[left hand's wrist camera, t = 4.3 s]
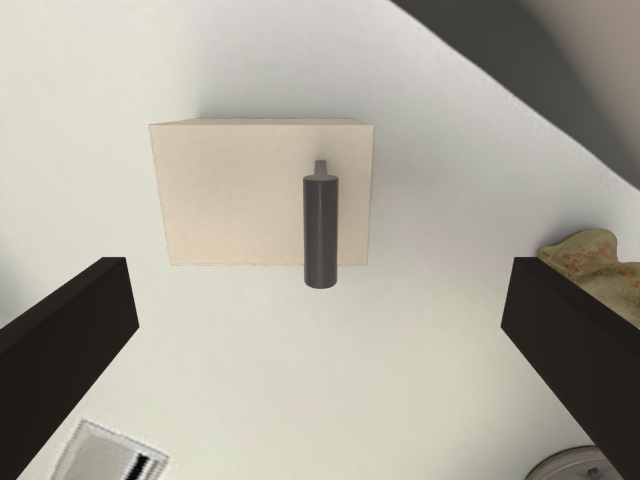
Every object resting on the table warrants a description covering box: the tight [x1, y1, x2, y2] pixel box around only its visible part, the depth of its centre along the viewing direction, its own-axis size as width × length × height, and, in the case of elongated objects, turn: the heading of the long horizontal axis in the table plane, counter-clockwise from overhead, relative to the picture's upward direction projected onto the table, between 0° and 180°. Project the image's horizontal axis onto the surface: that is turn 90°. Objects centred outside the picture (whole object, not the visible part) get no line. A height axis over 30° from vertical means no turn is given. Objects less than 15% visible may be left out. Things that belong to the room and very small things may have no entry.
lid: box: [149, 124, 374, 289], centre depth 22 cm, size 14×10×8 cm
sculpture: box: [539, 228, 640, 328], centre depth 30 cm, size 6×7×15 cm
